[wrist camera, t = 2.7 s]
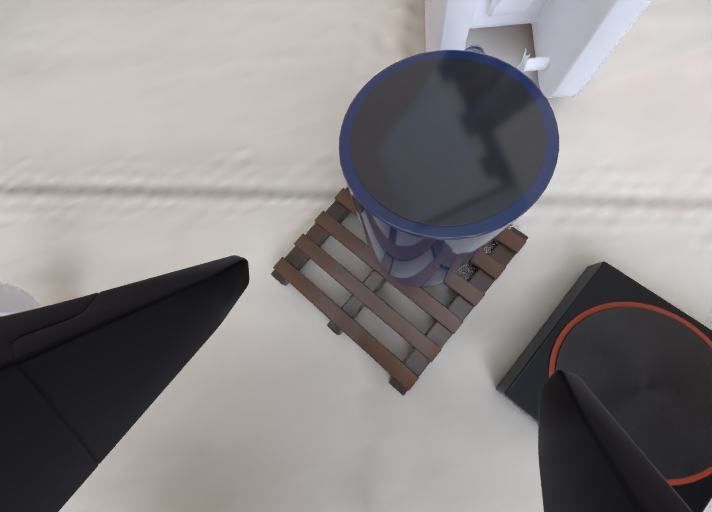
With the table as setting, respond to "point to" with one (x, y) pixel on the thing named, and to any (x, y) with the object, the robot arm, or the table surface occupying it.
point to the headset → (15, 300)
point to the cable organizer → (541, 33)
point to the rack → (365, 292)
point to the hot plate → (631, 372)
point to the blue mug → (444, 159)
